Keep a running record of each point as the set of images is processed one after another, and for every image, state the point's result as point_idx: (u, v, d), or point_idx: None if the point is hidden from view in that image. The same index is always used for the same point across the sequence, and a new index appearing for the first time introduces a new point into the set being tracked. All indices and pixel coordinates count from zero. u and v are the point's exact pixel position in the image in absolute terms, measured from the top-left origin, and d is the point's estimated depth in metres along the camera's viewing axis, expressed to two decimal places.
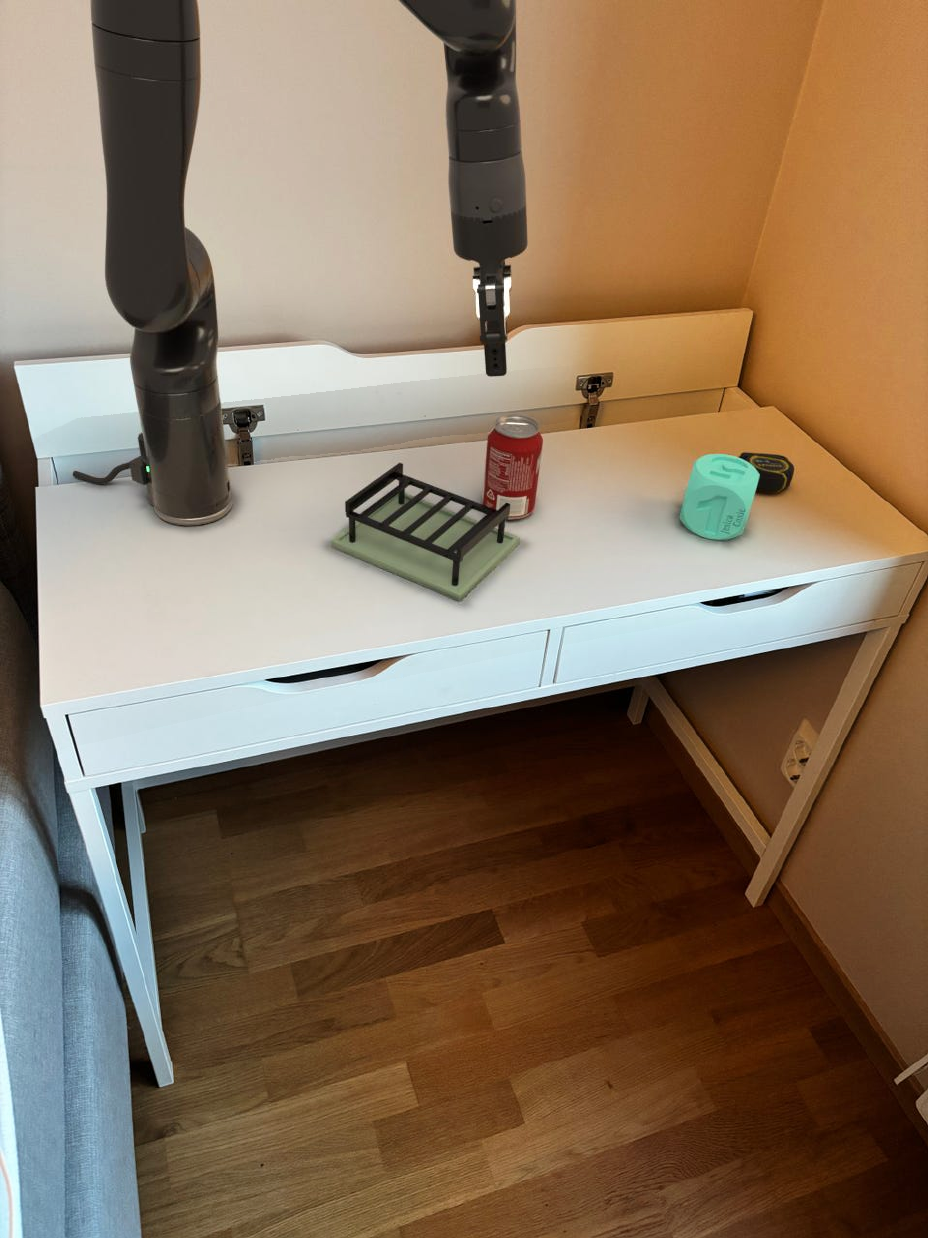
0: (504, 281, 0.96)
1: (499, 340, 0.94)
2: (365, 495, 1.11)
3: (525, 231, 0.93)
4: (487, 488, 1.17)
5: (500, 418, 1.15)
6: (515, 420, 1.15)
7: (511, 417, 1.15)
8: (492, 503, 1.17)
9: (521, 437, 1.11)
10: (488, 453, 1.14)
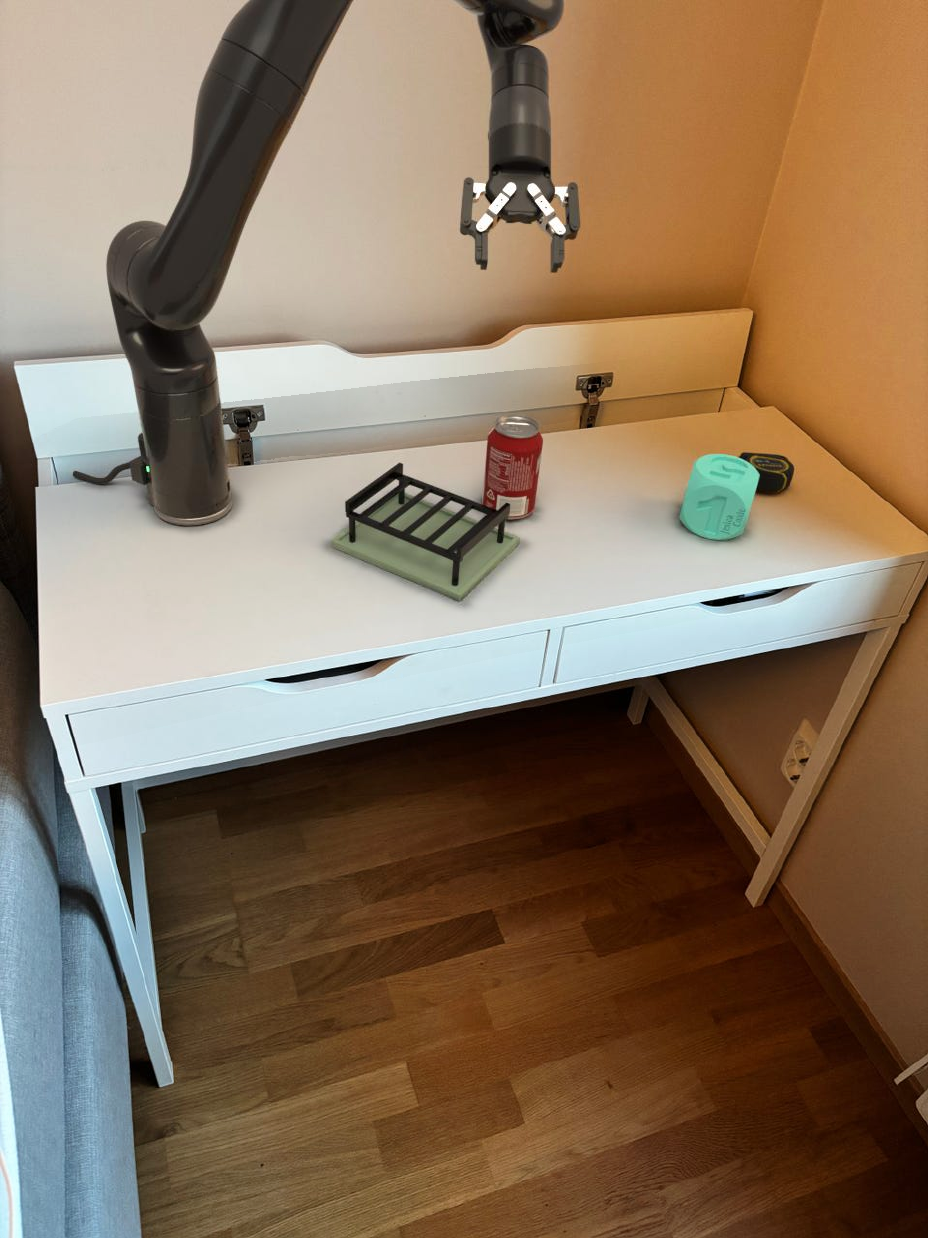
0: None
1: (576, 233, 1.14)
2: (365, 495, 1.11)
3: None
4: (487, 488, 1.17)
5: (500, 418, 1.15)
6: (515, 420, 1.15)
7: (511, 417, 1.15)
8: (492, 503, 1.17)
9: (521, 437, 1.11)
10: (488, 453, 1.14)
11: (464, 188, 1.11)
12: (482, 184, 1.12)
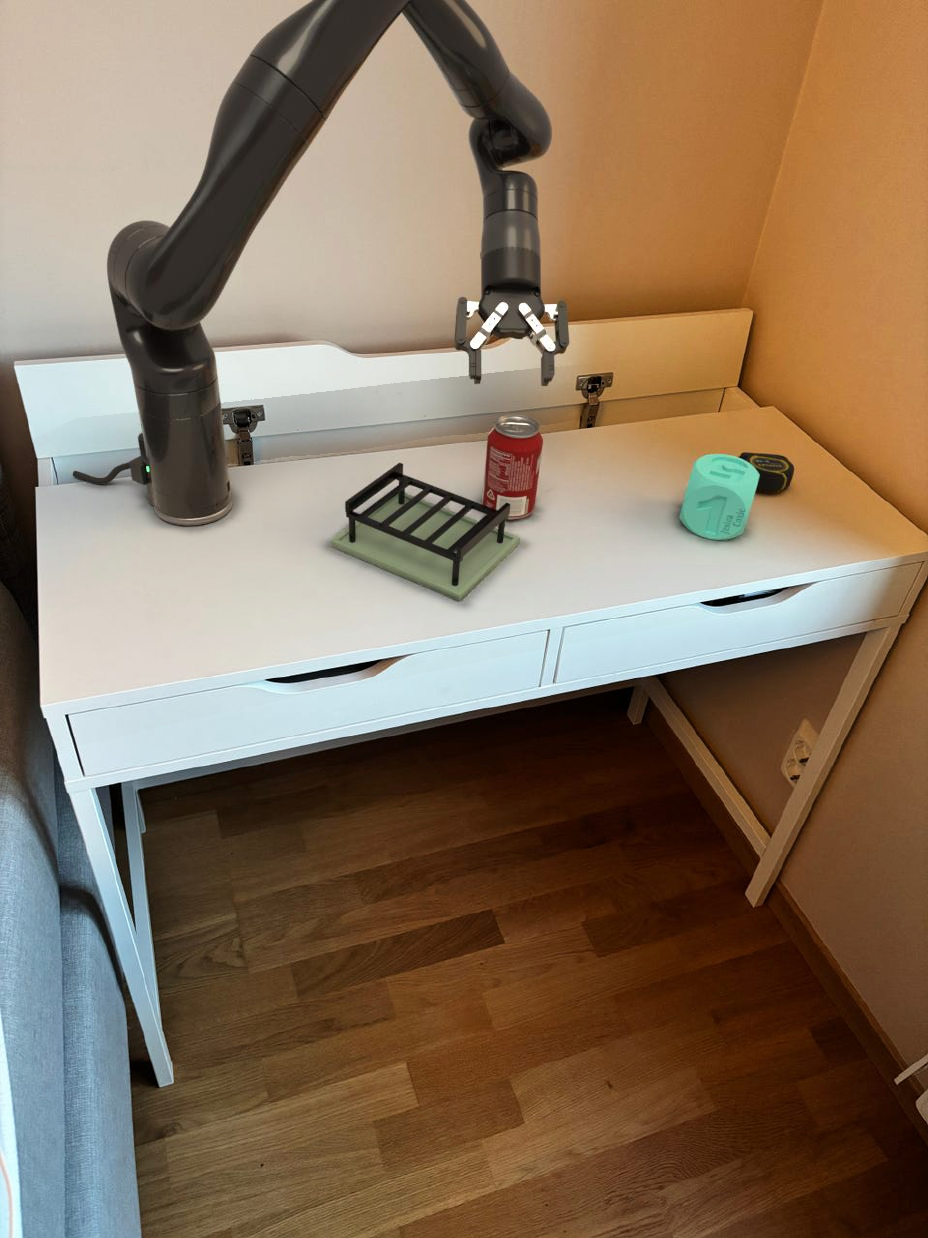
0: None
1: (565, 348, 1.19)
2: (365, 495, 1.11)
3: None
4: (487, 488, 1.17)
5: (500, 418, 1.15)
6: (515, 420, 1.15)
7: (511, 417, 1.15)
8: (492, 503, 1.17)
9: (521, 437, 1.11)
10: (488, 453, 1.14)
11: (458, 307, 1.17)
12: (475, 303, 1.18)
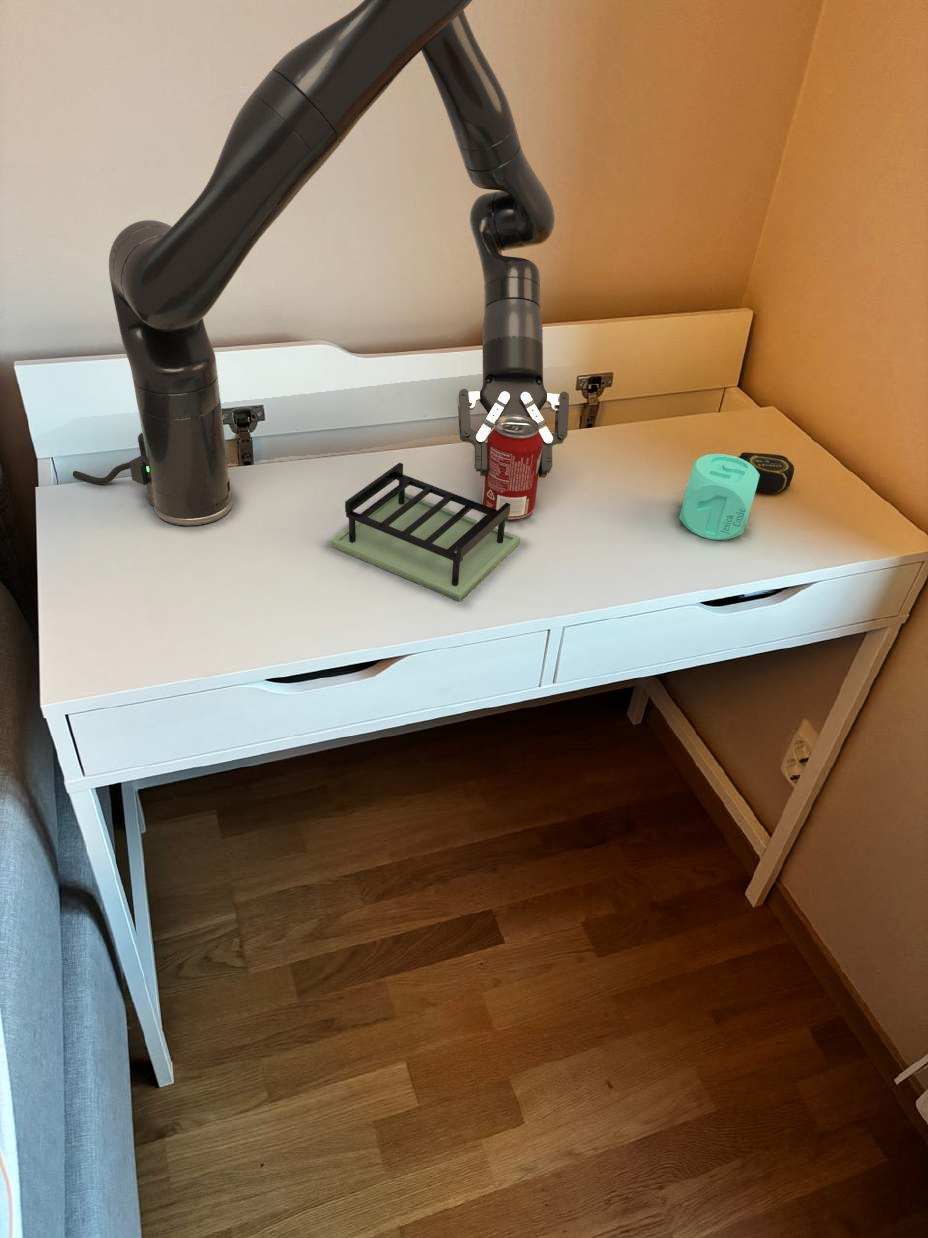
0: None
1: None
2: (365, 495, 1.11)
3: None
4: (487, 488, 1.17)
5: (500, 418, 1.15)
6: (515, 420, 1.15)
7: (511, 417, 1.15)
8: (492, 503, 1.17)
9: (521, 437, 1.11)
10: (488, 453, 1.14)
11: (460, 400, 1.15)
12: (476, 392, 1.16)
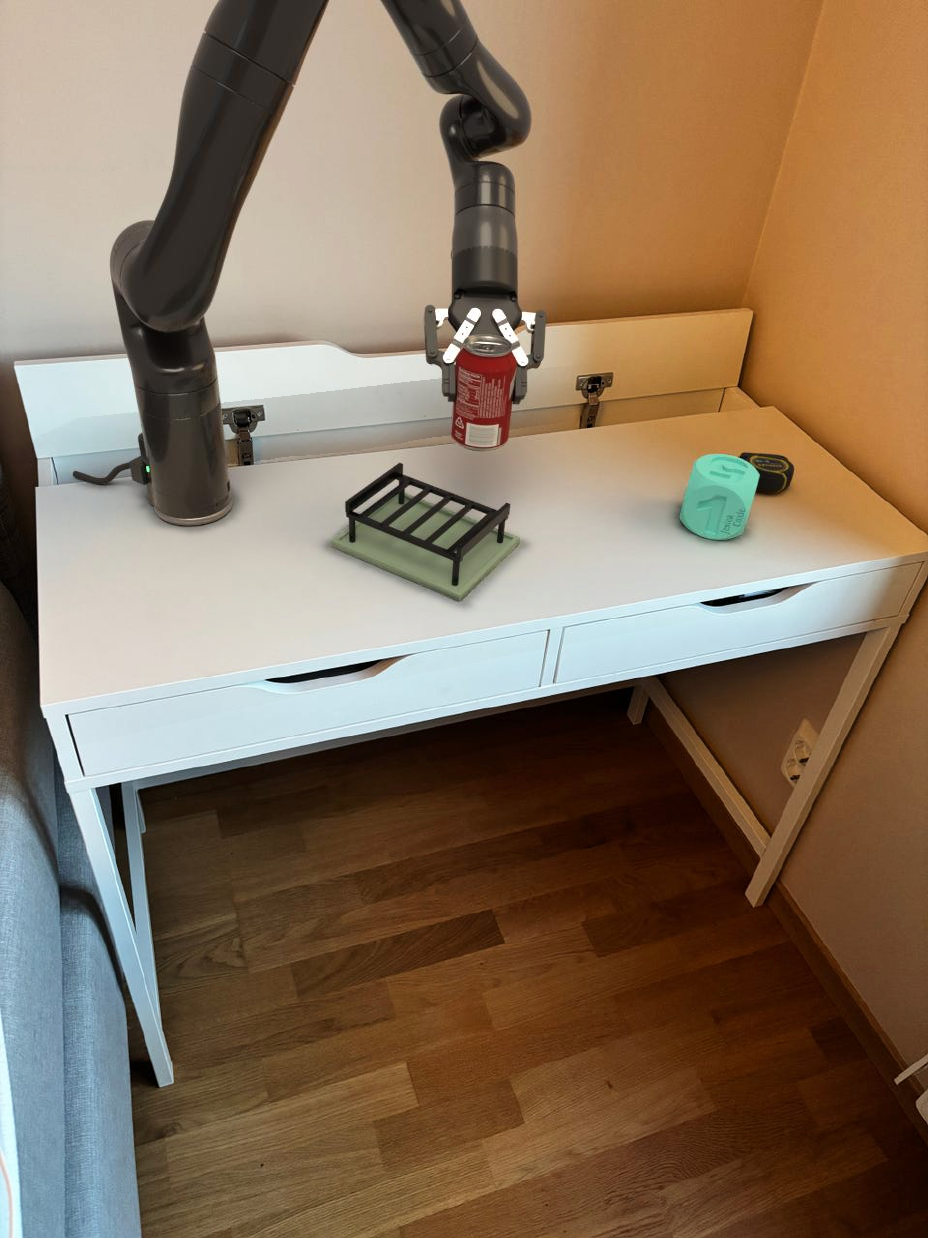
0: None
1: (540, 362, 1.07)
2: (365, 495, 1.11)
3: None
4: (456, 416, 1.06)
5: (470, 337, 1.04)
6: (486, 340, 1.04)
7: (482, 336, 1.05)
8: (461, 432, 1.07)
9: (492, 355, 1.01)
10: (456, 375, 1.04)
11: (426, 317, 1.04)
12: (444, 310, 1.05)
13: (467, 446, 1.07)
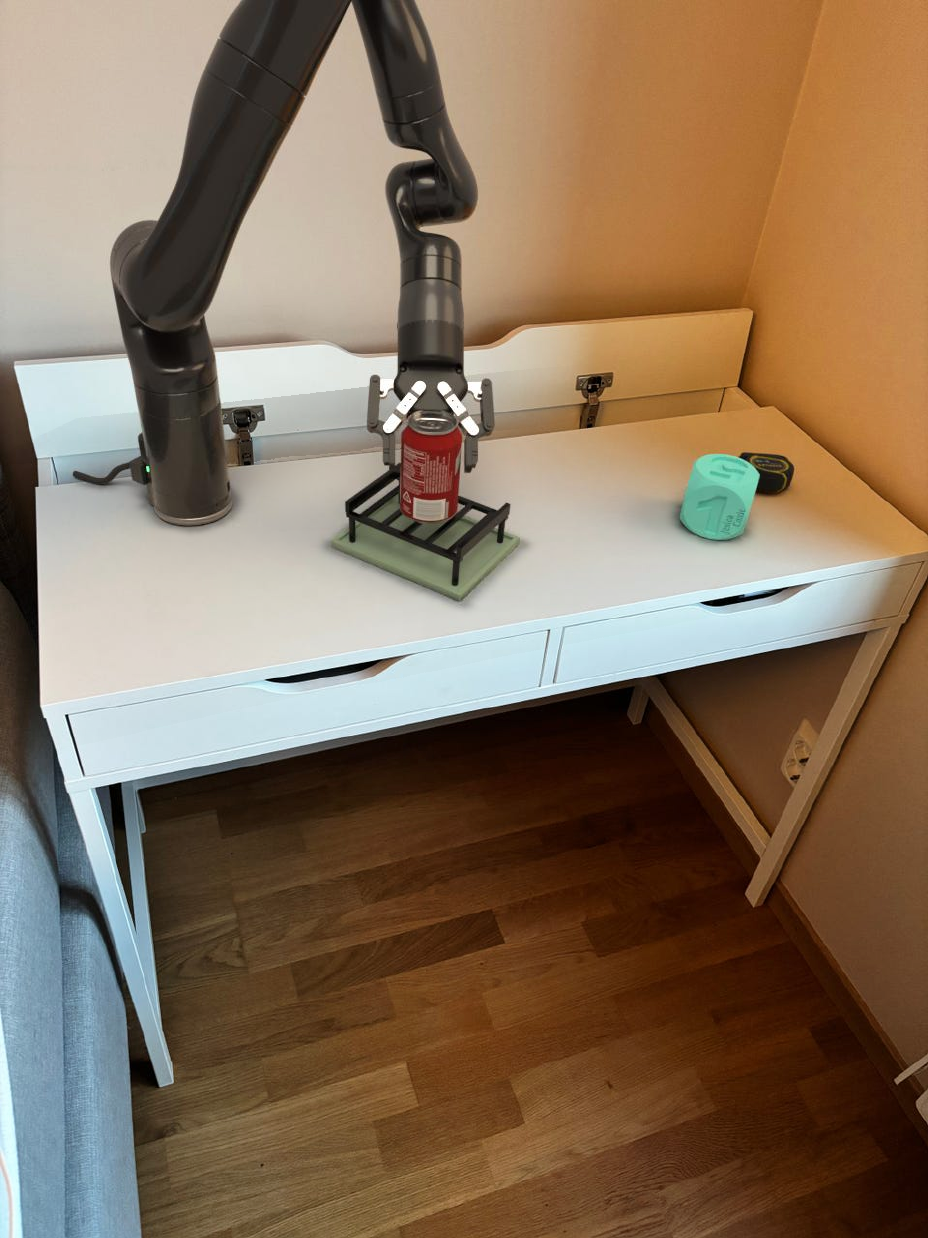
0: None
1: (492, 430, 1.07)
2: (365, 495, 1.11)
3: None
4: (403, 490, 1.07)
5: (415, 413, 1.04)
6: (432, 415, 1.05)
7: None
8: (409, 506, 1.07)
9: (436, 434, 1.01)
10: (402, 451, 1.04)
11: (370, 386, 1.04)
12: (390, 380, 1.05)
13: (415, 520, 1.08)
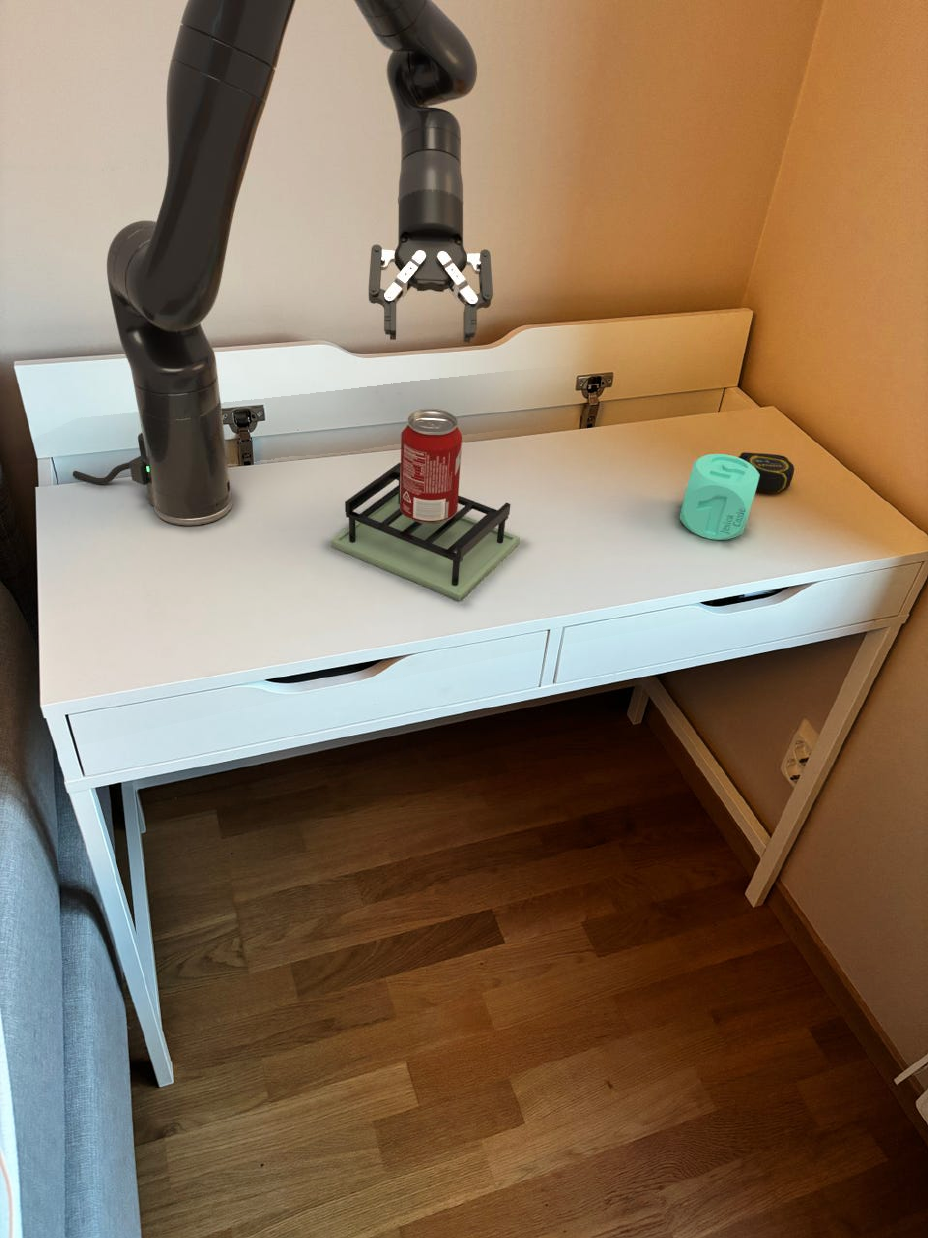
0: None
1: (490, 301, 1.10)
2: (365, 495, 1.11)
3: None
4: (403, 490, 1.07)
5: (415, 413, 1.04)
6: (432, 416, 1.05)
7: (428, 412, 1.05)
8: (409, 506, 1.07)
9: (436, 434, 1.01)
10: (402, 451, 1.04)
11: (372, 256, 1.07)
12: (391, 251, 1.08)
13: (415, 520, 1.08)
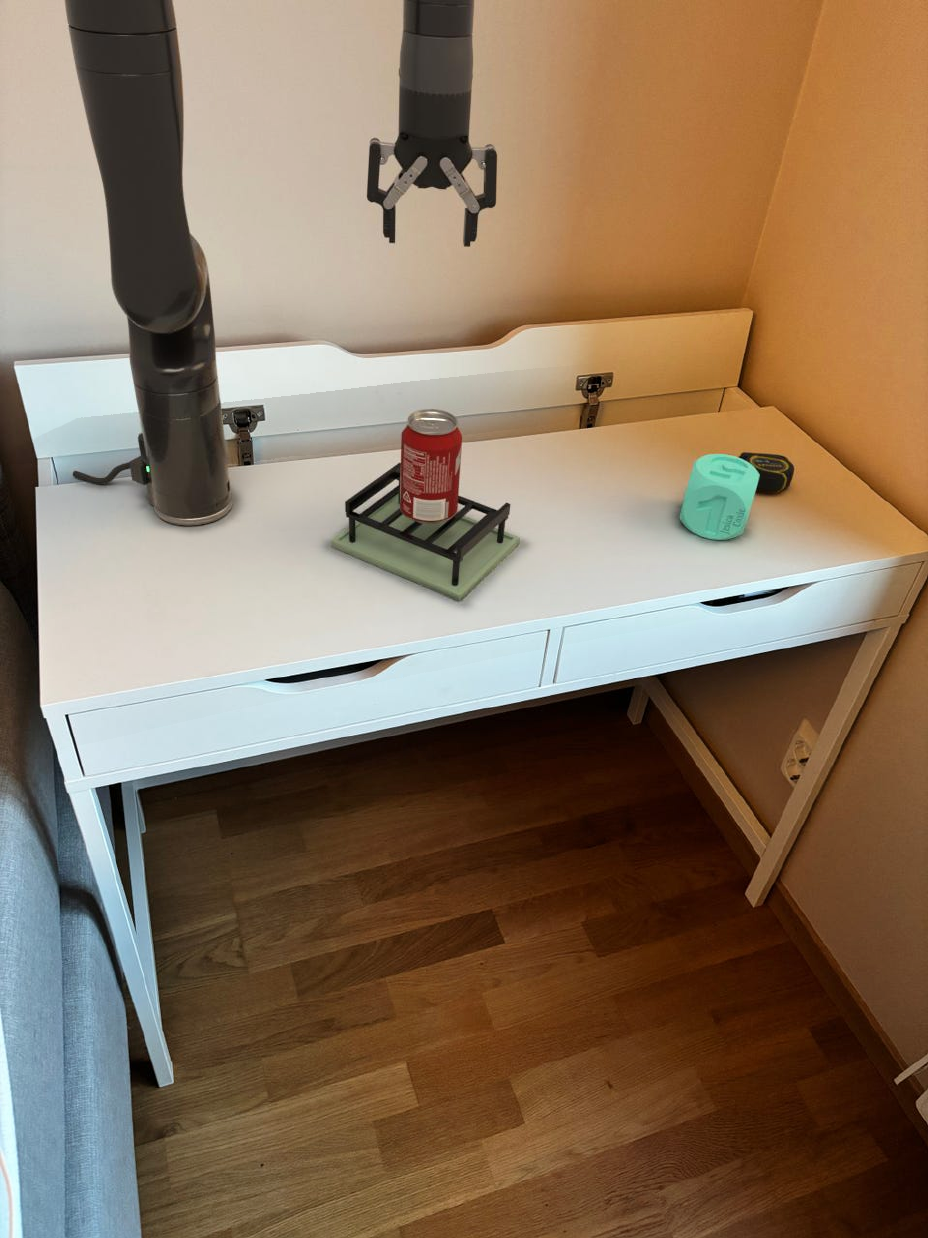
0: None
1: None
2: (365, 495, 1.11)
3: None
4: (403, 490, 1.07)
5: (415, 413, 1.04)
6: (432, 415, 1.05)
7: (428, 412, 1.05)
8: (409, 506, 1.07)
9: (436, 434, 1.01)
10: (402, 451, 1.04)
11: (370, 157, 1.00)
12: (390, 146, 1.00)
13: (415, 520, 1.08)
